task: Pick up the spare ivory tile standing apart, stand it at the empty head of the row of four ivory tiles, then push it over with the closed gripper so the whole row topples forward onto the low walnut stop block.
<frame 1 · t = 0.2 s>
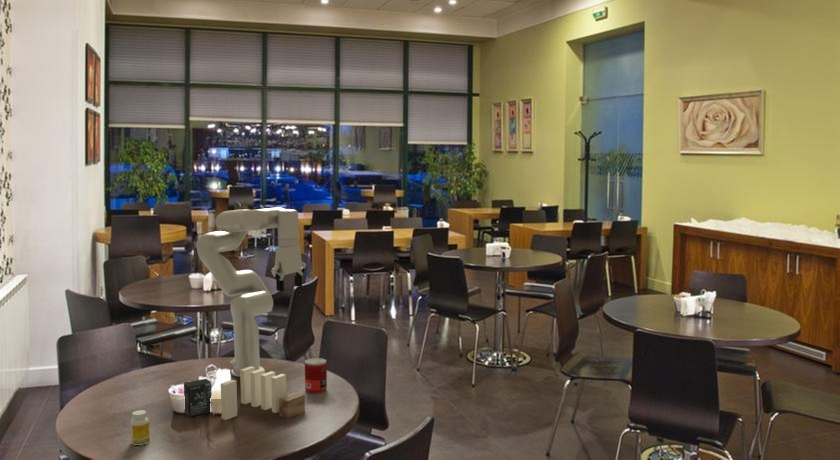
hand: (289, 288, 283), 37 cm above the table, tool pointing down, fingers open, 9 cm apart
end block: (292, 413, 257), on the table
canned food: (316, 390, 282), on the table
supplement bottle: (140, 443, 233), on the table
domino 3: (258, 404, 266), on the table
domino 4: (268, 407, 263), on the table
box: (198, 413, 258), on the table
domino 1: (229, 417, 254), on the table
domino 5: (279, 410, 260), on the table
domino 2: (248, 401, 269), on the table
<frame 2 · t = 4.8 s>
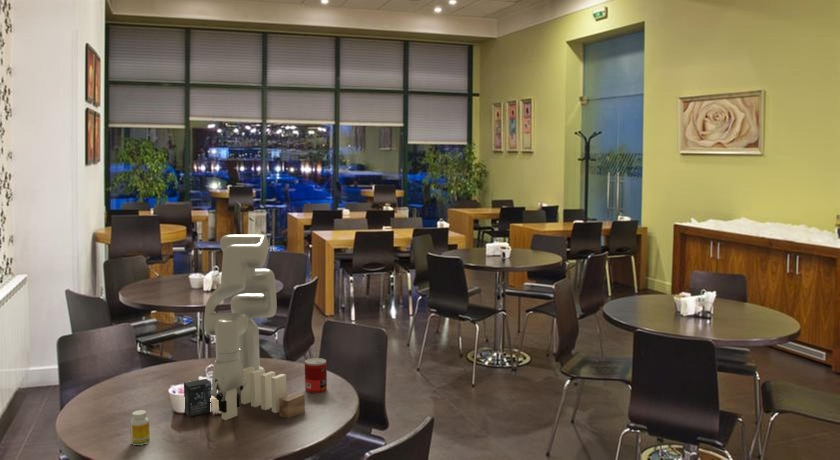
hand: (229, 408, 254), 3 cm above the table, tool pointing down, fingers closed on domino 1, 4 cm apart
domino 1: (229, 417, 254), on the table, touching gripper
everything else where it was.
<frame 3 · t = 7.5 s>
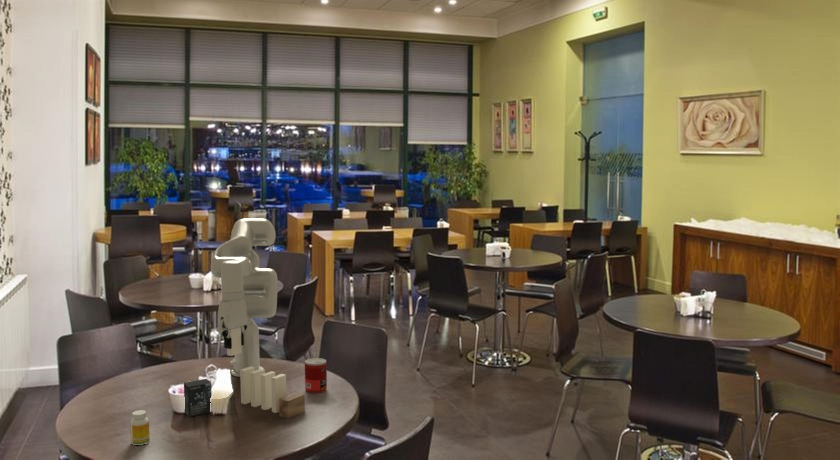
hand: (234, 345, 270), 19 cm above the table, tool pointing down, fingers closed on domino 1, 4 cm apart
domino 1: (234, 353, 270), point 16 cm above the table, touching gripper
everything else where it was.
when the fingers open (3 cm above the table, at t = 10.2 s): domino 1 stays where it is, on the table.
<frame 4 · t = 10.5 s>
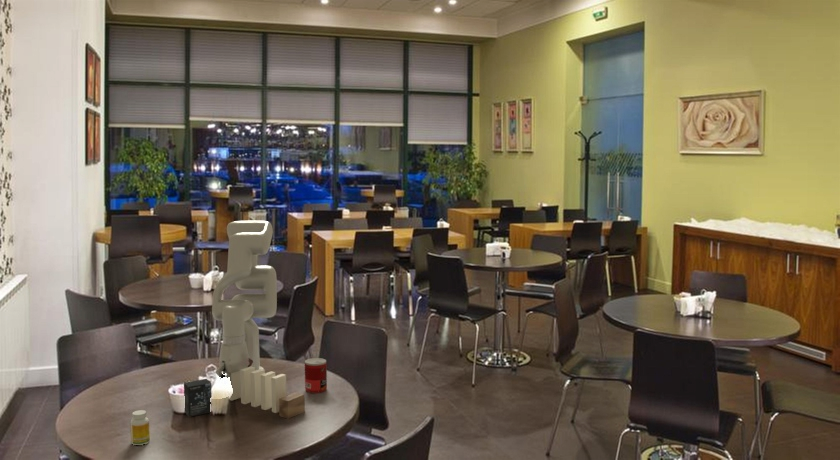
hand: (235, 387, 272), 4 cm above the table, tool pointing down, fingers open, 7 cm apart
domino 1: (235, 398, 272), on the table
everything else where it was.
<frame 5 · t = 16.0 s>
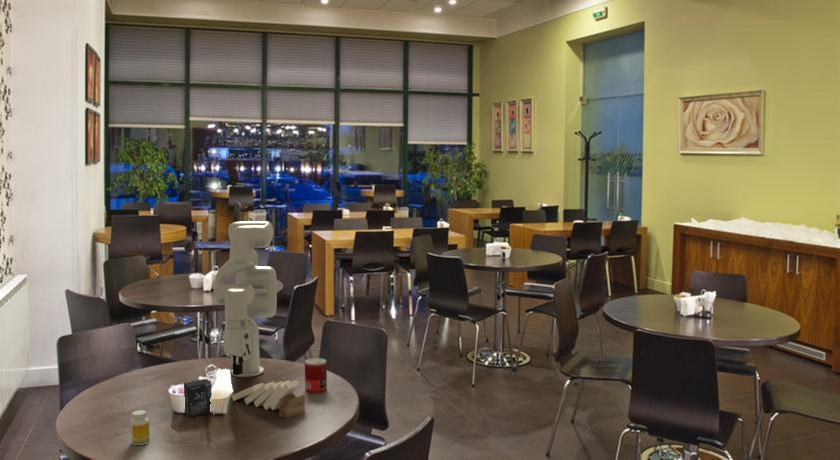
hand: (237, 374, 270), 9 cm above the table, tool pointing down, fingers closed
domino 3: (260, 402, 265), point 1 cm above the table, tilted 48°, touching domino 2, domino 4
domino 4: (269, 405, 263), point 1 cm above the table, tilted 41°, touching domino 3, domino 5
domino 1: (237, 396, 272), point 1 cm above the table, tilted 63°
domino 5: (276, 405, 261), point 1 cm above the table, tilted 41°, touching domino 4, end block
domino 2: (250, 400, 268), point 1 cm above the table, tilted 54°, touching domino 3
everything else where it was.
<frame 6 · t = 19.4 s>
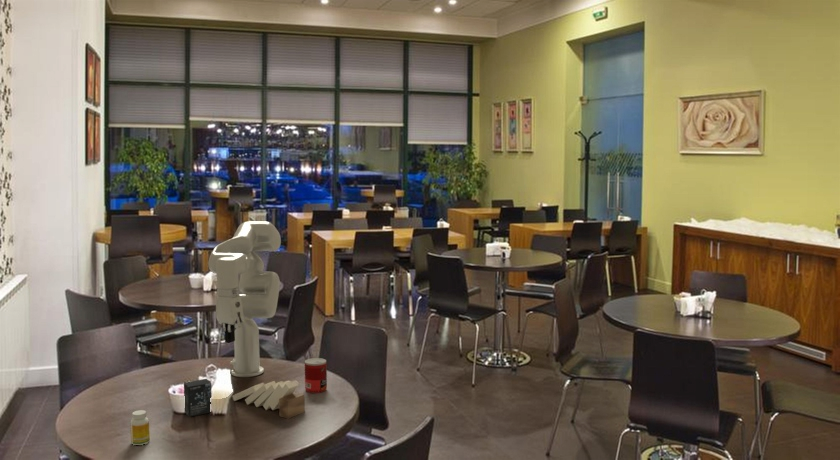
hand: (230, 341, 275), 19 cm above the table, tool pointing down, fingers closed
domino 1: (238, 396, 271), point 1 cm above the table, tilted 62°, touching domino 2
domino 2: (251, 400, 268), point 1 cm above the table, tilted 52°, touching domino 1, domino 3
everything else where it was.
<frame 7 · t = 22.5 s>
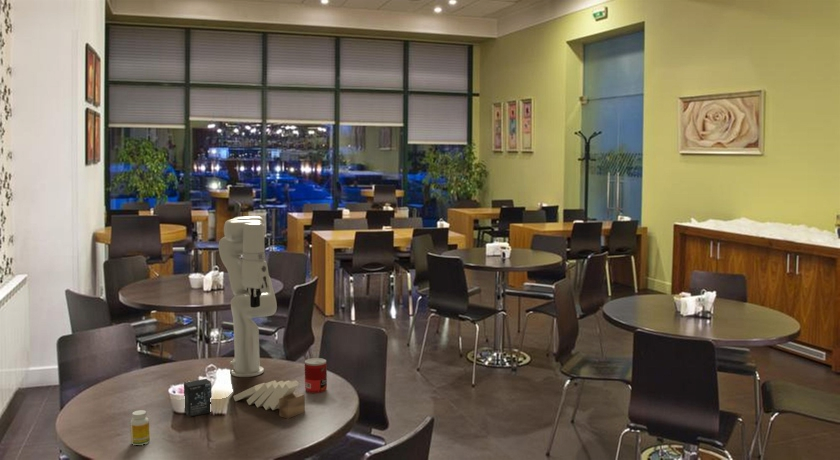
hand: (255, 306, 278), 31 cm above the table, tool pointing down, fingers closed
at the end: domino 5 tilted 41°; domino 1 inside the target area (0.6 cm from its centre), point 0.9 cm above the table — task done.
